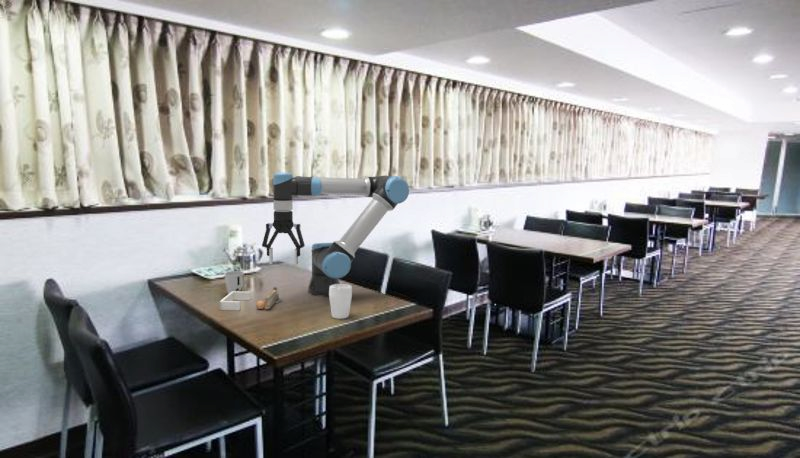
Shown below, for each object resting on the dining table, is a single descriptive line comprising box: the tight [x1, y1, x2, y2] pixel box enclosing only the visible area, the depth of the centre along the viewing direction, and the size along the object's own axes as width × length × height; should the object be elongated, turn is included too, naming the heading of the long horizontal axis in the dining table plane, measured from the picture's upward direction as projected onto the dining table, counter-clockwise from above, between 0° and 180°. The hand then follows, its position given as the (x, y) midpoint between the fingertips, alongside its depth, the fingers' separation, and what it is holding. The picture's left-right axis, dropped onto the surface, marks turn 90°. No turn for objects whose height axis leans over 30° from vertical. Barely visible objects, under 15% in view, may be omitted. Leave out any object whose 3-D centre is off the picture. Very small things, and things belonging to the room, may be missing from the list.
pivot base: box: [274, 297, 283, 304], centre depth 199 cm, size 6×6×1 cm
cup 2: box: [328, 283, 353, 320], centre depth 182 cm, size 9×9×12 cm
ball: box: [256, 300, 265, 310], centre depth 188 cm, size 4×4×4 cm
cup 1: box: [224, 270, 245, 295], centre depth 206 cm, size 8×8×10 cm
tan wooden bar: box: [264, 286, 280, 310], centre depth 193 cm, size 3×14×5 cm, turn 1°
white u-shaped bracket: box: [218, 291, 252, 312], centre depth 193 cm, size 8×15×4 cm, turn 1°
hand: (283, 263), depth 192 cm, fingers open, 10 cm apart
